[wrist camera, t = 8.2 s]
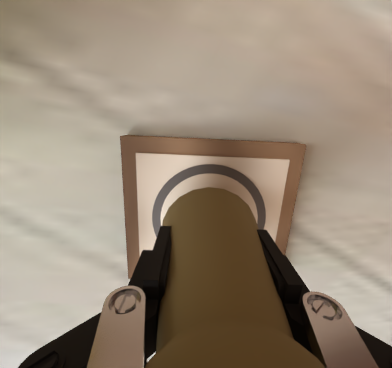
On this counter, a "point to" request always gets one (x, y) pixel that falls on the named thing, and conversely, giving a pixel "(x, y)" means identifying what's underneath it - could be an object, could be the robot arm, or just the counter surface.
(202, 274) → the olive gourd
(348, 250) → the counter surface
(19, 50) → the counter surface
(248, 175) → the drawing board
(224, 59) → the counter surface
